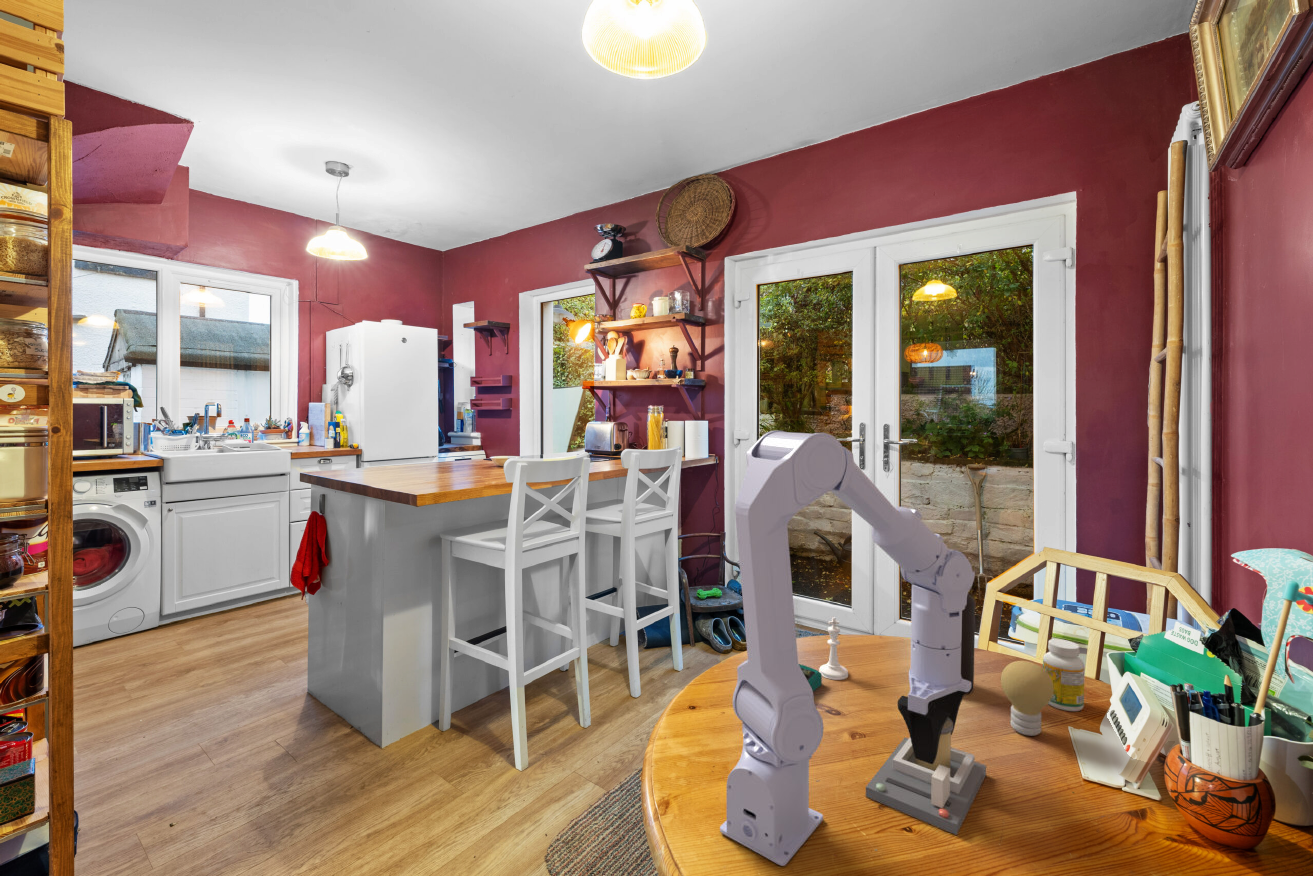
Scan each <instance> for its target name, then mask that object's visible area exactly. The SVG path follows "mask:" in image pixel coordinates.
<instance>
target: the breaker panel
mask: <svg viewBox="0 0 1313 876" xmlns="http://www.w3.org/2000/svg"><path fill="white" fill-rule="evenodd" d="M934 772H935V771H933V770H930V769H927V768H924V767H922V766H919V765H916V758H915V755H914V751H913V747H912V743H911V738H910V737H909V738H907V737H904V738H903V739H902V740H901V741H900V743H899V744H898V745H897V746H896V748H895V749H894V750H893V752H892V753H891V754H890V755H889V757H888V758H887V759H886V760H885V762H884V763H883V765H881V767H880V768H879V769H878V771H877V772H876V773H875V775H874V776H873V777H872V778H871V779H870V781H869V782H868V783H867V785H866V786H865V797H866V798H869V799H871V800H873V801H876V802H878V803H880V804H883V805H885V806H886V807H888V808H892V809H894V810H896V811H899V812H901V813H904V814H906V815H907V816H911V817H912V818H915V819H918V820H920V821H922V822H925V823H927V824H929V825H932V826H934V827H936V828H938V829H941V830H943V831H945V832H947V833H951V834H952V835H955V836H957V835H958V833H959V830H960V829H961V827H962V825H963V823H964V820H965V819H966V816H967V814H968V812H969V811H970V809H971V806H972V805H973V802H974V800H975V798H976V796H977V794H978V792H979V790H980V788H981V786H982V784H983V782H984V780H985V778H986V776H987V765H986V764H983V763H980V762H977V761H975V754H972V753H971V752H966V751H963V750H960V749H958V748H955V747H952V746H951V766H950V796H949V797H948V799H947V801H946V803H945V805H944V806H943V808H940V807H938V806H935V805H933V804H931V783H932V775H933V774H934Z"/></svg>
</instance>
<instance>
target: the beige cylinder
mask: <svg viewBox="0 0 1313 876" xmlns="http://www.w3.org/2000/svg"><path fill="white" fill-rule="evenodd" d="M952 730H953V722H952V720H951V719H950V718H947V720H946V722H945V724H944V726H943V728H942V731H941V735H940V739H939V745H938V751H937V756H936V759H935V761H934V763H933V764H929V763H927V762H924V761H921V760H918V759H916V765H919V766H922V767H924V768H927V769H930V770H933V771H935V770H936V769H937V767H938V766H939V765H942V766H945V767H948V768H950V766H951V747H952V735H951V731H952ZM953 731H954V730H953Z"/></svg>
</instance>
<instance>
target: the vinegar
mask: <svg viewBox="0 0 1313 876" xmlns="http://www.w3.org/2000/svg"><path fill="white" fill-rule="evenodd" d="M975 626H976V601H975V598H974V597H973V596H972V595H971V594H970V593H969V592H968V594H967V605H965V609H964V610H962V637H961V677H962V678H963V679H966V680H968V681H970V682H971V689H970V691H968V692H966V693H965V695H969V694H970V693H972V692H973V691H974V686H975V683H974V682H975V680H974V679H975V639H976V637H975V636H976V635H975V631H976V627H975Z"/></svg>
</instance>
